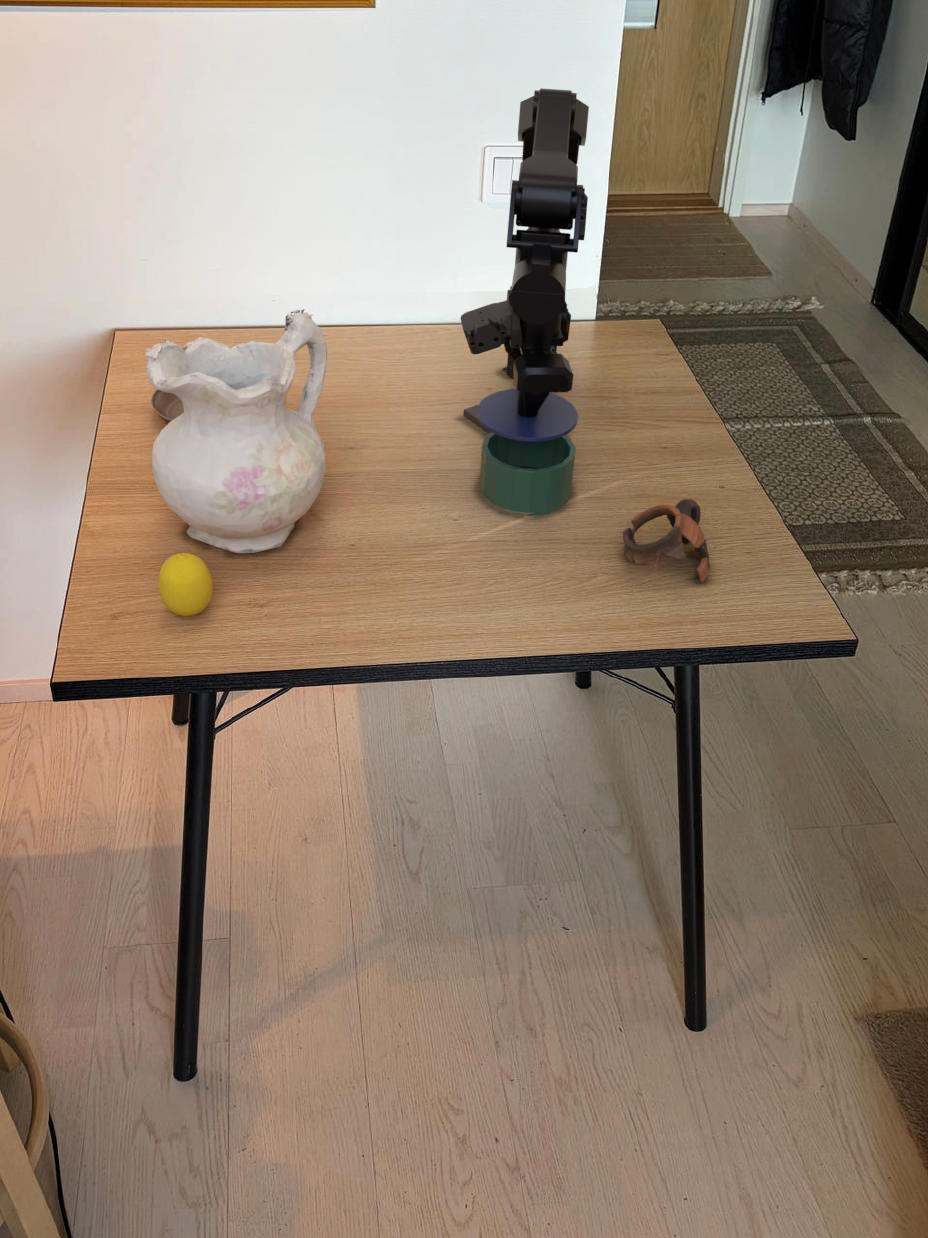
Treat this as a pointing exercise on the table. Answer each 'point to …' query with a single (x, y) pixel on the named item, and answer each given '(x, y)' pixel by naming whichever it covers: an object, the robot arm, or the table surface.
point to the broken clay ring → (669, 536)
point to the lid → (510, 421)
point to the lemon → (185, 584)
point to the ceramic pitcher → (240, 436)
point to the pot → (527, 473)
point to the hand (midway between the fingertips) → (528, 409)
